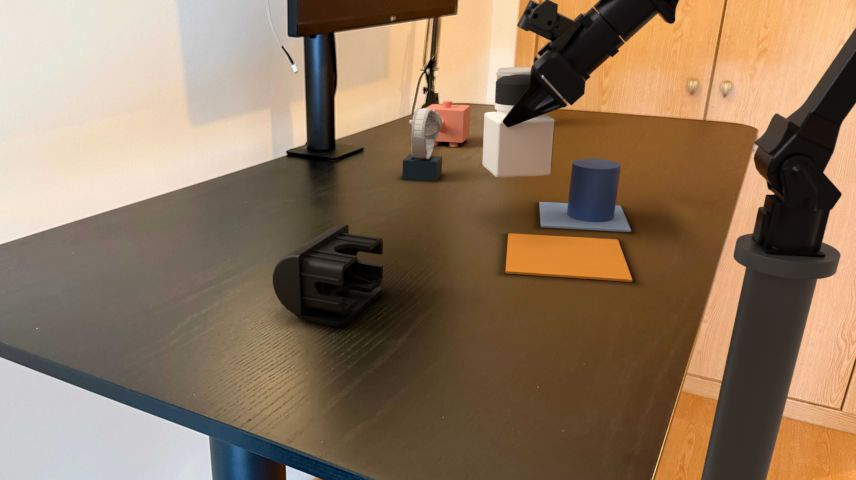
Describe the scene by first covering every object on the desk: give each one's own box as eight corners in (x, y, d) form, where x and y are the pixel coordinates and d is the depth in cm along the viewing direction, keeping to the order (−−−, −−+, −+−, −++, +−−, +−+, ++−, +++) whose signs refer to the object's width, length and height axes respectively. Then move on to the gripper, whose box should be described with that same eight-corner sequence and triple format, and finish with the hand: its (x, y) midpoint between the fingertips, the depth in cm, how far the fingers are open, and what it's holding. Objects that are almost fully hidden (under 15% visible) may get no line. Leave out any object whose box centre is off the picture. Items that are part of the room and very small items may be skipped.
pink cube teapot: (418, 149, 136) (419, 105, 133) (433, 137, 147) (434, 96, 144) (458, 151, 134) (460, 106, 131) (470, 139, 144) (472, 97, 141)
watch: (443, 172, 119) (446, 105, 115) (433, 184, 112) (435, 113, 108) (411, 170, 121) (412, 104, 116) (399, 181, 114) (400, 112, 109)
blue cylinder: (611, 210, 97) (618, 159, 94) (616, 223, 92) (623, 169, 89) (565, 207, 98) (571, 157, 96) (568, 220, 93) (573, 168, 90)
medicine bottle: (551, 175, 89) (559, 77, 85) (496, 178, 89) (500, 79, 84) (533, 163, 96) (539, 71, 91) (481, 166, 95) (485, 73, 91)
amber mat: (617, 241, 86) (618, 239, 86) (632, 282, 74) (632, 279, 74) (508, 235, 89) (508, 233, 88) (505, 273, 77) (505, 270, 77)
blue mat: (620, 207, 99) (620, 205, 99) (630, 232, 89) (631, 230, 89) (539, 203, 101) (539, 201, 101) (540, 227, 91) (540, 225, 91)
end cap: (323, 280, 75) (321, 220, 73) (384, 291, 73) (385, 228, 70) (273, 317, 67) (269, 250, 65) (340, 331, 64) (338, 262, 62)
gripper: (562, -26, 91) (471, 64, 97) (562, -28, 74) (453, 80, 81) (620, 39, 92) (526, 123, 99) (633, 51, 75) (520, 151, 82)
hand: (507, 118), depth 90 cm, fingers closed on medicine bottle, 8 cm apart
